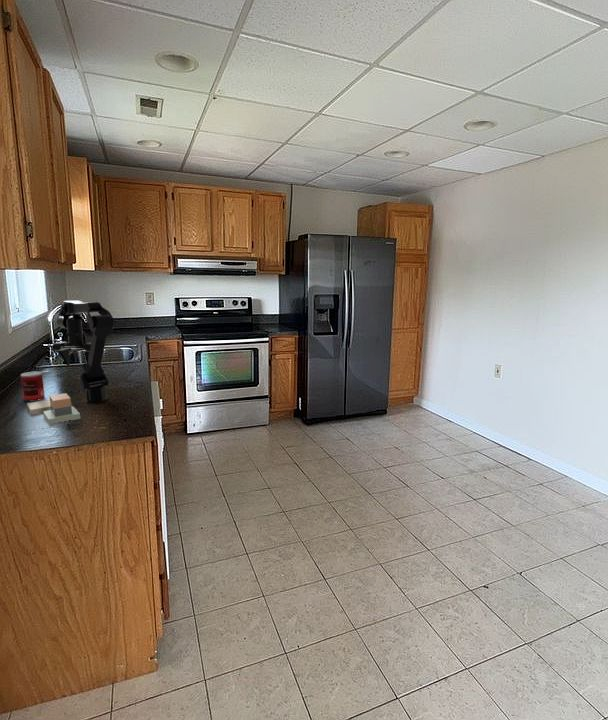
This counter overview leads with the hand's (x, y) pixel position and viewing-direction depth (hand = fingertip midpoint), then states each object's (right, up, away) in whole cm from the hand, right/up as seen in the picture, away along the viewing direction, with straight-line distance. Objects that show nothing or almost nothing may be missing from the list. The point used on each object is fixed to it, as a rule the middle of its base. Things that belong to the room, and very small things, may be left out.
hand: (78, 365), depth 181 cm
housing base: (+8, -17, -27) cm, 33 cm away
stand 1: (-4, -17, -17) cm, 24 cm away
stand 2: (+8, -19, -27) cm, 34 cm away
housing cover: (+8, -14, -28) cm, 32 cm away
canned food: (-17, -14, -4) cm, 22 cm away
